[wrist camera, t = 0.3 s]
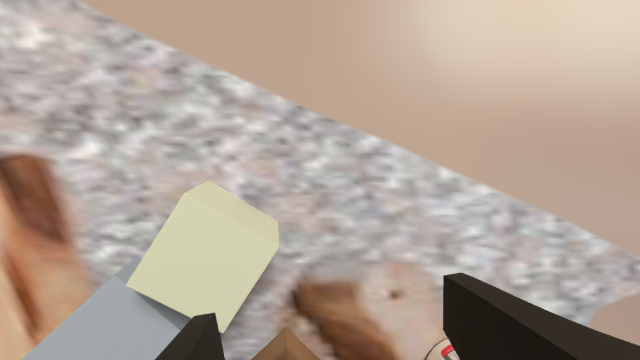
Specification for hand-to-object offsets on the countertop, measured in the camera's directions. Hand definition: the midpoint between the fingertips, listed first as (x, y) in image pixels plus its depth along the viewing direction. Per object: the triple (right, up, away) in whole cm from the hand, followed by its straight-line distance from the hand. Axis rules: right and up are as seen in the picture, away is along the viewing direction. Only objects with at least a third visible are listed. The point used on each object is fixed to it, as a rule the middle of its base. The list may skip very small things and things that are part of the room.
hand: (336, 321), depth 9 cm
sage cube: (-7, +1, +10) cm, 12 cm away
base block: (-12, -5, +10) cm, 16 cm away
